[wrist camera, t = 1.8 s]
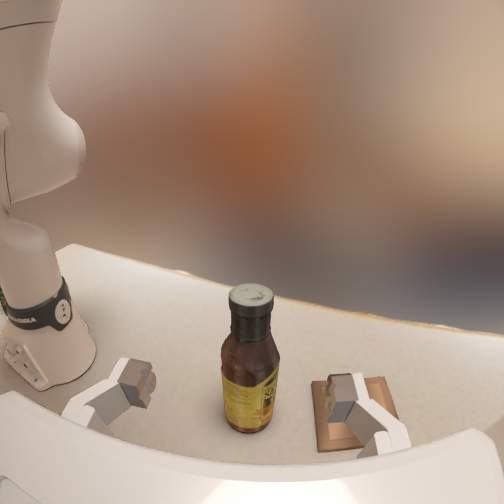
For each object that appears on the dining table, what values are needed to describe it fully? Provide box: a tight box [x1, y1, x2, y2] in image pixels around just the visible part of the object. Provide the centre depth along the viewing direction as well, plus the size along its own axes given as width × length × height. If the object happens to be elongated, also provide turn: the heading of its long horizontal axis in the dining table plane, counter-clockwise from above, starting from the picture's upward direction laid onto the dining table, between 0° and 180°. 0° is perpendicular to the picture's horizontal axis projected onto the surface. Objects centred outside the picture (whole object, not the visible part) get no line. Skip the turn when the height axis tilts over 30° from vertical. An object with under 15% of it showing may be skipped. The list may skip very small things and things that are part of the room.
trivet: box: [311, 377, 399, 452], centre depth 31 cm, size 12×12×1 cm
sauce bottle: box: [221, 283, 280, 433], centre depth 28 cm, size 7×6×20 cm
